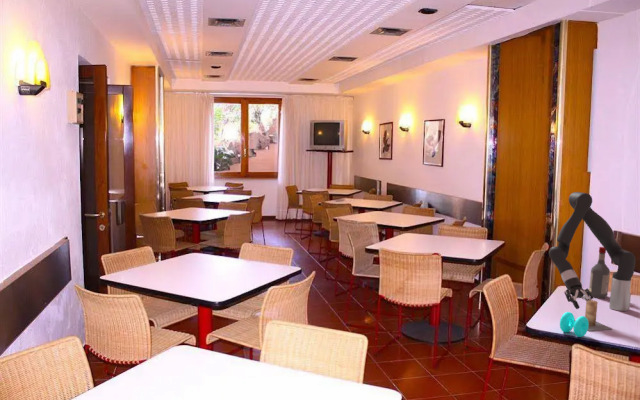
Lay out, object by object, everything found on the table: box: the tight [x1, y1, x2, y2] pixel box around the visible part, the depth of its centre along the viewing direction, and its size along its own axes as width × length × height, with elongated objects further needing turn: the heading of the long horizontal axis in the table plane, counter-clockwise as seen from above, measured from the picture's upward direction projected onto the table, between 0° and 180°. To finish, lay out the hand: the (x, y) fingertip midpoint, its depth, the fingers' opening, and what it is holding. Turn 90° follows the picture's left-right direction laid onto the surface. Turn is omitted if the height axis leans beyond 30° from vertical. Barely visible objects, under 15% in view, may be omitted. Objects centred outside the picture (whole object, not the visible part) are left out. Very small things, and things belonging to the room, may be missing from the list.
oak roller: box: [584, 299, 598, 326], centre depth 276 cm, size 5×5×12 cm
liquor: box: [588, 246, 611, 299], centre depth 329 cm, size 9×9×30 cm
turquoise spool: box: [559, 311, 589, 338], centre depth 263 cm, size 10×10×10 cm
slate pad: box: [575, 319, 613, 332], centre depth 277 cm, size 14×14×1 cm
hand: (585, 307), depth 280 cm, fingers open, 8 cm apart
